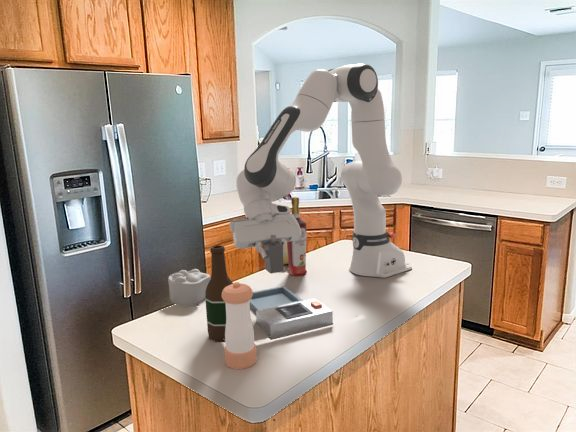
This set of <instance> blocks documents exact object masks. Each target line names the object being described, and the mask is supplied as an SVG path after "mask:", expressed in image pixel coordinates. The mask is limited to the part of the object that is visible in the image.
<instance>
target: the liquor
mask: <svg viewBox="0 0 576 432" xmlns="http://www.w3.org/2000/svg"><path fill="white" fill-rule="evenodd" d="M290 200H291V201H290V202H291V215H293V216H294V217H295V218H296V220H297V222H298V224H299V226H300V229H301V235H300V237H299V239H298V240H296V241H289V242H287V249H288V264H287V265H288V271H287V273H288V275H290V276H291V277H292V276H293V277H300V276H304V275H306V274H307V273H308V271H307V267H306V265H307V261H306V260H307V259H306V258H307V251H306V250H307V226H308V225H307V222H306V221H305V220H303V219H301V214H300V207H299V206H300V196H291V199H290Z"/></svg>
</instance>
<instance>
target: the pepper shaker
mask: <svg viewBox="0 0 576 432" xmlns="http://www.w3.org/2000/svg"><path fill="white" fill-rule="evenodd" d="M253 292H254V291H253V289H252V288H251V286H250V285H248V284H245V283H240V282H239V281H235V282H233V284H231V285H229V286H227V287H225V288H224V289H223V291H222V295H221V297H222V299H223V300H224V302H225V303H226V328H225V339H224V341H225V346H224V363H225V365H226V366H227V367H228V368H231V369H237V370H243V369H248V368H250V367H252V366H254V365H255V364H256V362H257V344H256V343H255V332H254V331H255V330H254V327H253V326H254V325H253V321H252V317H251V316H252V315H251V307H250V299H251V298H252V295H253Z"/></svg>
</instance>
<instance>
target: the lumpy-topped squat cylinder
mask: <svg viewBox="0 0 576 432" xmlns="http://www.w3.org/2000/svg"><path fill="white" fill-rule="evenodd" d="M210 280H211V275H210V274H209V273H205V272H201V271H200V270H199V269H197V268H193V269H191V270H188V271H187V270H186V269H181V270H179V271H178V272H174V273H171V274H170V275H169V276H168V291H169V301H170V302H171V303H172V304H175V305H179V306H184V307H198V306H200V304H199V303H200V302H203V301H204V300H205V291H206V288H207V285H208V283H209V281H210Z"/></svg>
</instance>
